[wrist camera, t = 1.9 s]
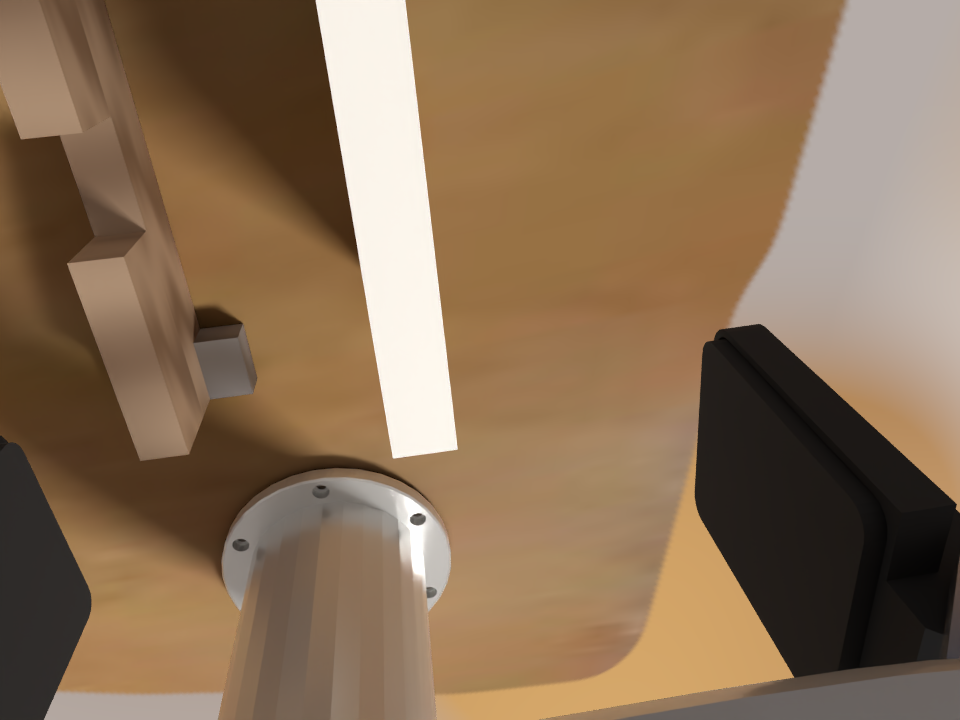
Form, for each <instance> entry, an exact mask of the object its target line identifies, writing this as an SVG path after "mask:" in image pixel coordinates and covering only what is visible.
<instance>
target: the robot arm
mask: <svg viewBox="0 0 960 720" xmlns="http://www.w3.org/2000/svg"><path fill="white" fill-rule="evenodd" d="M695 501H696V506H697V510H698V513H699V516H700V518H701V520H702V521H703V523H704V525H705V527H706V528H707V530H708V531H709V533H710V535H711V537H712V538H713V540H714V542H715V544H716V545H717V547H718V549H719V550H720V552H721V553H722V555H723V557H724V559H725V560H726V562H727V564H728V566H729V567H730V569H731V571H732V572H733V574H734V576H735V577H736V579H737V581H738V582H739V584H740V586H741V588H742V589H743V591H744V592H745V594H746V596H747V598H748V599H749V601H750V603H751V605H752V606H753V608H754V610H755V611H756V613H757V615H758V616H759V618H760V620H761V622H762V623H763V625H764V626H765V628H766V630H767V632H768V633H769V635H770V637H771V638H772V640H773V641H774V643H775V645H776V647H777V649H778V650H779V652H780V654H781V655H782V657H783V659H784V661H785V662H786V664H787V666H788V667H789V669H790V671H791V672H792V674H793V676H794V677H795V678H790V679H784V680H777V681H770V682H764V683H757V684H751V685H744V686H738V687H731V688H724V689H718V690H711V691H706V692H700V693H693V694H688V695H682V696H676V697H670V698H664V699H658V700H652V701H646V702H640V703H635V704H629V705H623V706H617V707H611V708H606V709H599V710H593V711H588V712H582V713H576V714H570V715H564V716H558V717H552V718H546V719H541V720H960V513H959V512H958V511H957V510H956V505H957V504H956V503H955V502H954V501H953V500H952V499H951V498H949V496H947V495H946V494H945V493H944V492H943V491H942V490H941V489H940V488H939V487H938V486H937V485H935V484H934V483H933V482H932V481H931V480H930V479H929V478H928V477H927V476H926V475H925V474H924V473H922V472H921V471H920V470H919V469H918V468H917V467H916V466H915V465H914V464H913V463H912V462H910V460H908V459H907V458H906V457H905V456H904V455H903V454H902V453H901V452H900V451H899V450H898V449H897V448H895V447H894V446H893V445H892V444H891V443H890V442H889V441H888V440H887V439H886V438H885V437H884V436H882V435H881V434H880V433H879V432H878V431H877V430H876V429H875V428H874V427H873V426H872V425H870V424H869V423H868V422H867V421H866V420H865V419H864V418H863V417H862V416H861V415H860V414H858V412H856V411H855V410H854V409H853V408H852V407H851V406H850V405H849V404H848V403H847V402H846V401H844V400H843V399H842V398H841V397H840V396H839V395H838V394H837V393H836V392H835V391H834V390H833V389H832V388H830V387H829V386H828V385H827V384H826V383H825V382H824V381H823V380H822V379H821V378H820V377H819V376H817V375H816V374H815V373H814V372H813V371H812V370H811V369H810V368H809V367H808V366H807V365H806V364H804V363H803V362H802V361H801V360H800V359H799V358H798V357H797V356H795V354H794V353H792V352H791V351H790V350H789V349H788V348H787V347H786V346H785V345H784V344H783V343H782V342H781V341H780V340H778V339H777V338H776V337H775V336H774V335H773V334H772V333H771V332H770V331H769V330H768V329H767V328H766V327H764V326H762V325H761V324H756V325H749V326H742V327H735V328H728V329H721V330H719V331H718V332H717V333H716V335H715V338H714V341H709V342H706V343H705V345H704V347H703V354H702V371H701V389H700V407H699V425H698V443H697V462H696V479H695ZM221 562H222V577H223V580H224V583H225V586H226V589H227V592H228V594H229V596H230V598H231V599H232V601H233V602H234V604H235V605H236V607H237V608H238V609H239V610H240V611H241V612H240V617H239V622H238V626H237V631H236V636H235V641H234V645H233V650H232V655H231V660H230V664H229V669H228V674H227V679H226V683H225V688H224V693H223V698H222V702H221V707H220V712H219V717H218V720H437V719H436V705H435V693H434V680H433V668H432V656H431V643H430V631H429V618H428V612H429V611H430V610H431V608H432V607H433V606H434V605H435V603H436V602H437V601H438V600H439V598H440V596H441V594H442V592H443V590H444V589H445V587H446V585H447V582H448V578H449V574H450V569H451V550H450V544H449V538H448V533H447V531H446V528H445V526H444V523H443V521H442V518H441V517H440V516H439V514H438V513H437V511H436V510H435V509H434V507H433V506H432V504H430V503H429V502H428V501H427V500H426V499H425V498H424V497H423V496H422V495H421V494H420V493H419V492H417V491H415V490H414V489H412V488H411V487H409V486H407V485H406V484H404V483H402V482H401V481H398V480H396V479H393V478H390V477H388V476H385V475H383V474H380V473H375V472H370V471H365V470H361V469H346V468H331V469H321V470H313V471H309V472H305V473H301V474H297V475H293V476H290V477H288V478H286V479H284V480H281V481H279V482H277V483H275V484H272V485H271V486H269V487H268V488H266V489H265V490H263V491H262V492H260V493H259V494H257V495H256V496H254V497H253V498H252V499H251V500H250V501H249V502H248V503H247V504H246V505H245V506H244V507H243V508H242V509H241V510H240V512H239V514H238V515H237V517H236V518H235V520H234V522H233V523H232V525H231V526H230V529H229V532H228V535H227V538H226V542H225V545H224V550H223V556H222V561H221ZM90 612H91V594H90V590H89V588H88V585H87V583H86V581H85V579H84V577H83V575H82V573H81V571H80V569H79V567H78V564H77V562H76V560H75V558H74V556H73V554H72V552H71V550H70V548H69V546H68V544H67V541H66V539H65V537H64V535H63V533H62V531H61V529H60V527H59V525H58V523H57V520H56V518H55V516H54V514H53V512H52V510H51V508H50V506H49V504H48V502H47V500H46V497H45V495H44V493H43V491H42V489H41V487H40V485H39V483H38V481H37V479H36V477H35V474H34V472H33V470H32V468H31V466H30V464H29V462H28V460H27V458H26V456H25V454H24V452H23V450H22V449H21V447H20V446H19V445H18V444H16V443H13V442H11V443H8V442H7V440H5V439H4V438H3V437H2V436H0V720H44V718H45V716H46V713H47V711H48V709H49V706H50V704H51V702H52V700H53V698H54V695H55V693H56V691H57V689H58V686H59V684H60V682H61V679H62V677H63V675H64V673H65V670H66V668H67V666H68V664H69V661H70V659H71V657H72V655H73V652H74V650H75V648H76V646H77V643H78V641H79V639H80V636H81V634H82V632H83V630H84V627H85V625H86V623H87V621H88V618H89V615H90Z"/></svg>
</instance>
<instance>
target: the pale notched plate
mask: <svg viewBox="0 0 960 720" xmlns="http://www.w3.org/2000/svg"><path fill="white" fill-rule="evenodd" d="M316 5H317V11H318V17H319V23H320V29H321V35H322V41H323V47H324V53H325V59H326V65H327V70H328V76H329V82H330V88H331V94H332V100H333V106H334V112H335V118H336V124H337V130H338V136H339V141H340V147H341V153H342V159H343V165H344V171H345V177H346V183H347V189H348V195H349V201H350V207H351V213H352V218H353V224H354V230H355V236H356V242H357V248H358V254H359V260H360V266H361V272H362V278H363V284H364V289H365V295H366V301H367V307H368V313H369V319H370V325H371V331H372V337H373V343H374V349H375V355H376V361H377V366H378V372H379V378H380V384H381V390H382V396H383V402H384V408H385V414H386V420H387V426H388V432H389V437H390V443H391V449H392V455H393V458H400V457H407V456H414V455H422V454H429V453H436V452H443V451H451V450H458V449H457V440H456V432H455V423H454V415H453V406H452V398H451V389H450V380H449V372H448V363H447V355H446V346H445V338H444V329H443V320H442V312H441V303H440V295H439V286H438V278H437V269H436V261H435V252H434V243H433V235H432V226H431V218H430V209H429V201H428V192H427V183H426V175H425V166H424V158H423V149H422V141H421V132H420V123H419V115H418V106H417V98H416V89H415V81H414V72H413V63H412V55H411V46H410V38H409V29H408V21H407V12H406V3H405V0H316Z"/></svg>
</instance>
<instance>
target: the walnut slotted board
mask: <svg viewBox="0 0 960 720" xmlns="http://www.w3.org/2000/svg"><path fill="white" fill-rule="evenodd" d="M0 84H1V87H2V90H3V92H4V95H5V98H6V100H7V103H8V106H9V109H10V111H11V114H12V117H13V119H14V122H15V125H16V127H17V130H18V133H19V135H20V138H21V139H29V138H39V137H48V136H58V135H60V138H61V141H62V144H63V146H64V149H65V152H66V155H67V158H68V161H69V164H70V167H71V170H72V172H73V175H74V178H75V181H76V184H77V187H78V190H79V193H80V196H81V199H82V201H83V204H84V207H85V210H86V213H87V216H88V219H89V222H90V225H91V227H92V230H93V233H94V236H95V237H94V238H93V239H92V240H91V241H90V242H89V243H88V244H87V245H86V246H85V247H84V248H83V249H82V250H81V251H79V252H78V253H77V254H76V255H75V256H74V257H73V258H72V259H71V260H70V261H69V262H68V263H67V265H68V268H69V270H70V273H71V276H72V278H73V281H74V284H75V286H76V289H77V292H78V295H79V297H80V300H81V303H82V305H83V308H84V311H85V313H86V316H87V319H88V321H89V324H90V327H91V330H92V332H93V335H94V338H95V340H96V343H97V346H98V348H99V351H100V354H101V357H102V359H103V362H104V365H105V367H106V370H107V373H108V375H109V378H110V381H111V383H112V386H113V389H114V392H115V394H116V397H117V400H118V402H119V405H120V408H121V410H122V413H123V416H124V419H125V421H126V424H127V427H128V429H129V432H130V435H131V437H132V440H133V443H134V445H135V448H136V451H137V454H138V456H139V459H140V461H145V460H152V459H159V458H167V457H174V456H181V455H189V453H190V451H191V448H192V445H193V443H194V440H195V437H196V435H197V432H198V430H199V427H200V424H201V422H202V419H203V417H204V414H205V411H206V409H207V406H208V404H209V401H210V399H217V398H224V397H232V396H240V395H247V394H253V392H254V388H255V385H256V381H257V375H256V371H255V368H254V364H253V360H252V356H251V352H250V348H249V344H248V341H247V337H246V333H245V329H244V325H243V324H236V325H228V326H220V327H212V328H204V329H200V327H199V323H198V320H197V317H196V313H195V310H194V306H193V303H192V299H191V296H190V293H189V289H188V286H187V282H186V279H185V276H184V272H183V269H182V265H181V262H180V258H179V255H178V252H177V248H176V245H175V241H174V238H173V235H172V231H171V228H170V224H169V221H168V217H167V214H166V211H165V207H164V204H163V200H162V197H161V193H160V190H159V187H158V183H157V180H156V176H155V173H154V170H153V166H152V163H151V159H150V156H149V152H148V149H147V146H146V142H145V139H144V135H143V132H142V128H141V125H140V122H139V118H138V115H137V111H136V108H135V105H134V101H133V98H132V94H131V91H130V87H129V84H128V81H127V77H126V74H125V70H124V67H123V64H122V60H121V57H120V53H119V50H118V46H117V43H116V40H115V36H114V33H113V29H112V26H111V22H110V19H109V16H108V12H107V9H106V5H105V2H104V0H0Z"/></svg>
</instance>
